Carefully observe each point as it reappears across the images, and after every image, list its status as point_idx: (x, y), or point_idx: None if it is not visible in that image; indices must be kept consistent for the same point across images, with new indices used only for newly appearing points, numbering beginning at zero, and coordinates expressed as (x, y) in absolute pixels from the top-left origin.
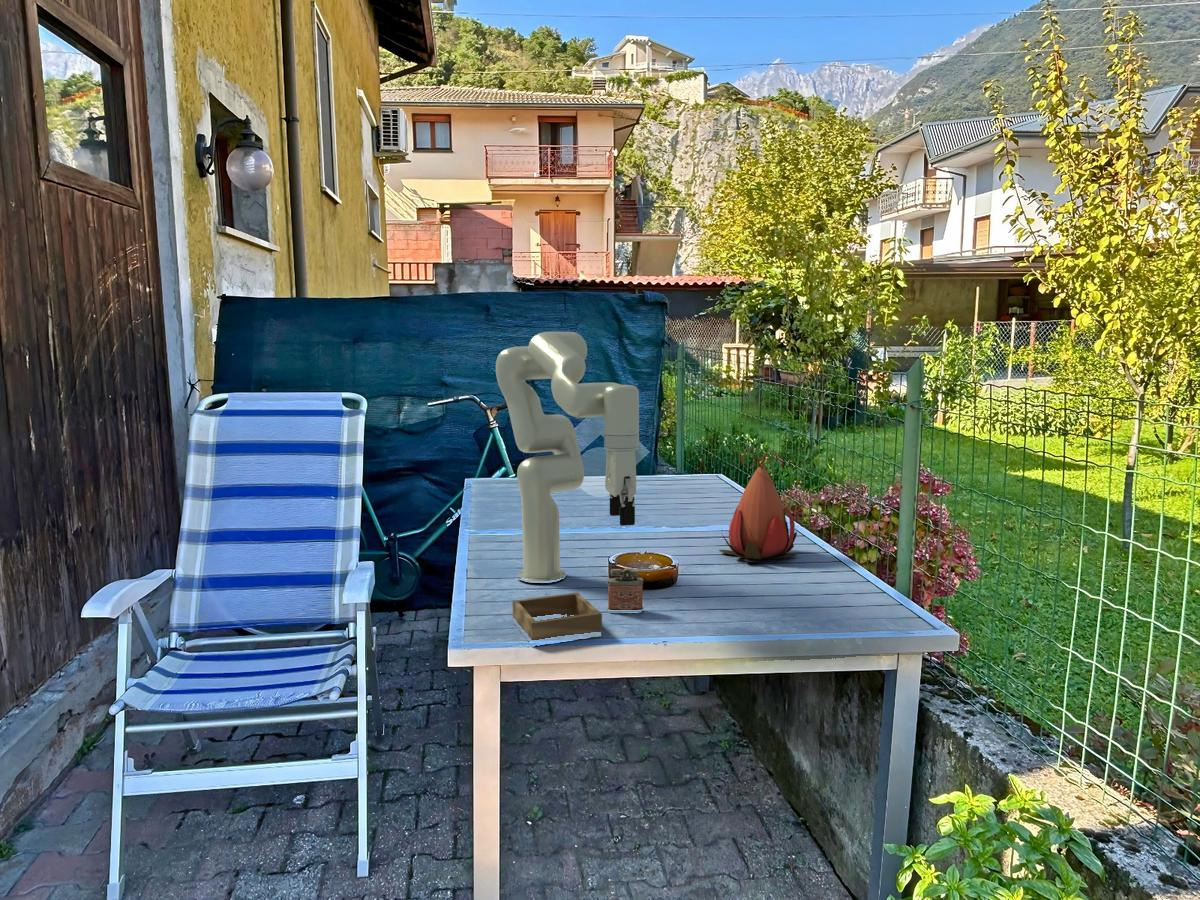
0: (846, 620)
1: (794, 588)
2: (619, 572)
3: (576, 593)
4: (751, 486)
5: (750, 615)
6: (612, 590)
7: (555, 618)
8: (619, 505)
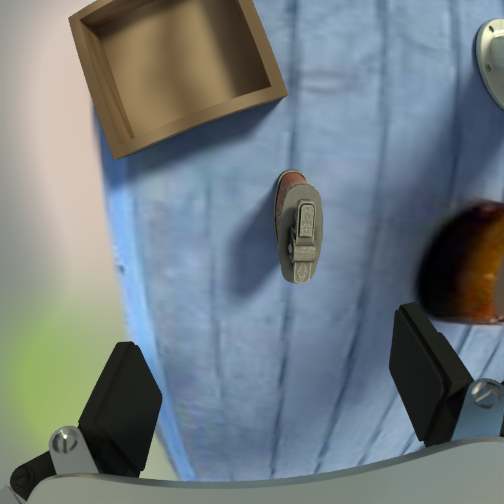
0: (225, 464)
1: (350, 446)
2: (296, 228)
3: (279, 91)
4: None
5: (248, 401)
6: (285, 192)
7: (89, 57)
8: (410, 392)
